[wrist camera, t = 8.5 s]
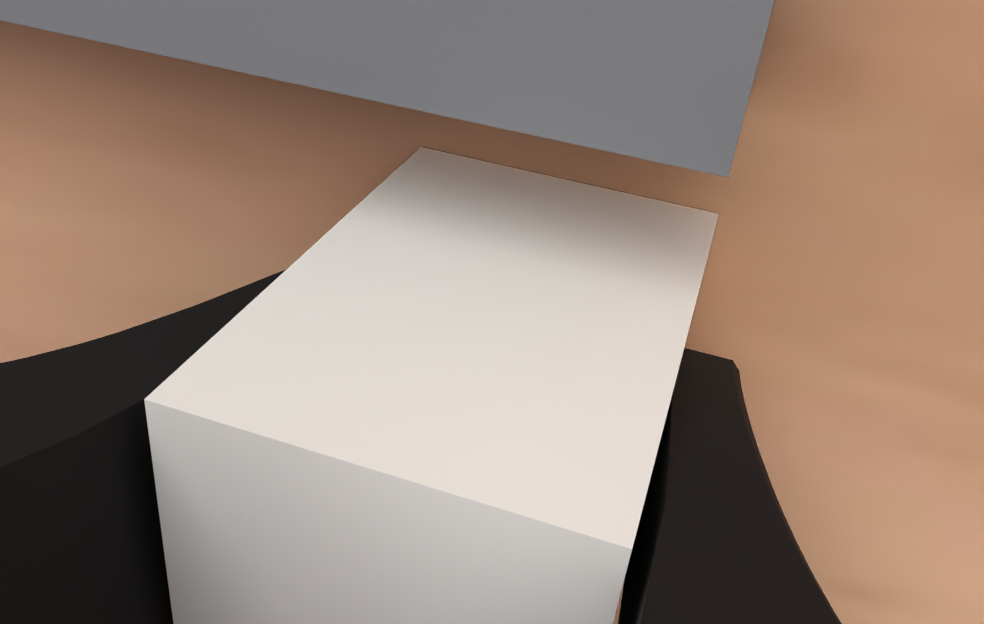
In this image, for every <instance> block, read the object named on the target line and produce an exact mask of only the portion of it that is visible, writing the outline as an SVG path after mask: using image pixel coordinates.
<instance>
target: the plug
mask: <svg viewBox="0 0 984 624" xmlns="http://www.w3.org/2000/svg"><path fill="white" fill-rule="evenodd" d="M718 216H719V214H717V213H713V212H709V211H704V210H700V209H695V208H691V207H686V206H682V205H677V204H673V203H669V202H664V201H660V200H655V199H651V198H646V197H642V196H637V195H633V194H628V193H624V192H620V191H615V190H611V189H606V188H602V187H597V186H593V185H588V184H584V183H579V182H575V181H571V180H566V179H562V178H557V177H553V176H548V175H544V174H539V173H535V172H530V171H526V170H522V169H517V168H513V167H508V166H504V165H499V164H495V163H490V162H486V161H481V160H477V159H473V158H468V157H464V156H459V155H455V154H450V153H446V152H441V151H437V150H432V149H428V148H424V147H420V148H419V149H418V150H417V151H416V152H415V153H414V154H413V155H412V156H410V157H409V158H408V159H407V160H406V161H405V162H404V163H403V164H402V165H401V166H399V167H398V168H397V169H396V170H395V171H394V172H393V173H392V174H391V175H390V176H388V177H387V178H386V179H385V180H384V181H383V182H382V183H381V184H380V185H379V186H378V187H376V188H375V189H374V190H373V191H372V192H371V193H370V194H369V195H368V196H367V197H365V198H364V199H363V200H362V201H361V202H360V203H359V204H358V205H357V206H356V207H355V208H353V209H352V210H351V211H350V212H349V213H348V214H347V215H346V216H345V217H344V218H342V219H341V220H340V221H339V222H338V223H337V224H336V225H335V226H334V227H333V228H331V229H330V230H329V231H328V232H327V233H326V234H325V235H324V236H323V237H322V238H321V239H319V240H318V241H317V242H316V243H315V244H314V245H313V246H312V247H311V248H310V249H308V250H307V251H306V252H305V253H304V254H303V255H302V256H301V257H300V258H299V259H297V260H296V261H295V262H294V263H293V264H292V265H291V266H290V267H289V268H288V269H287V270H285V271H284V272H283V273H282V274H281V275H280V276H279V277H278V278H277V279H276V280H274V281H273V282H272V283H271V284H270V285H269V286H268V287H267V288H266V289H265V290H263V291H262V292H261V293H260V294H259V295H258V296H257V297H256V298H255V299H254V300H253V301H251V302H250V303H249V304H248V305H247V306H246V307H245V308H244V309H243V310H242V311H240V312H239V313H238V314H237V315H236V316H235V317H234V318H233V319H232V320H231V321H230V322H228V323H227V324H226V325H225V326H224V327H223V328H222V329H221V330H220V331H219V332H217V333H216V334H215V335H214V336H213V337H212V338H211V339H210V340H209V341H208V342H206V343H205V344H204V345H203V346H202V347H201V348H200V349H199V350H198V351H197V352H196V353H194V354H193V355H192V356H191V357H190V358H189V359H188V360H187V361H186V362H185V363H183V364H182V365H181V366H180V367H179V368H178V369H177V370H176V371H175V372H174V373H172V374H171V375H170V376H169V377H168V378H167V379H166V380H165V381H164V382H163V383H162V384H160V385H159V386H158V387H157V388H156V389H155V390H154V391H153V392H152V393H151V394H149V395H148V396H147V397H146V398H145V399H144V402H145V410H146V417H147V425H148V433H149V440H150V448H151V456H152V463H153V471H154V479H155V486H156V494H157V502H158V509H159V517H160V525H161V532H162V540H163V548H164V555H165V563H166V571H167V578H168V586H169V594H170V601H171V609H172V617H173V624H613V621H614V617H615V613H616V609H617V605H618V601H619V598H620V594H621V590H622V586H623V582H624V578H625V575H626V571H627V567H628V563H629V559H630V556H631V552H632V548H633V544H634V540H635V536H636V532H637V529H638V525H639V521H640V517H641V513H642V509H643V505H644V502H645V498H646V494H647V490H648V486H649V482H650V478H651V474H652V471H653V467H654V463H655V459H656V455H657V451H658V447H659V444H660V440H661V436H662V432H663V428H664V424H665V420H666V417H667V413H668V409H669V405H670V401H671V397H672V393H673V389H674V386H675V382H676V378H677V374H678V370H679V366H680V362H681V359H682V355H683V351H684V347H685V343H686V339H687V335H688V332H689V328H690V324H691V320H692V316H693V312H694V308H695V305H696V301H697V297H698V293H699V289H700V285H701V281H702V277H703V274H704V270H705V266H706V262H707V258H708V254H709V250H710V247H711V243H712V239H713V235H714V231H715V227H716V223H717V220H718Z"/></svg>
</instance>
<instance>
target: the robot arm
mask: <svg viewBox="0 0 984 624" xmlns="http://www.w3.org/2000/svg"><path fill="white" fill-rule="evenodd" d="M284 271H285V270H284ZM284 271H281V272H279V273H276V274H274V275H271V276H269V277H266V278H264V279H261V280H259V281H256V282H254V283H251V284H249V285H246V286H244V287H241V288H239V289H236V290H234V291H231V292H228V293H226V294H223V295H221V296H218V297H216V298H213V299H211V300H208V301H206V302H203V303H200V304H198V305H195V306H193V307H190V308H187V309H184V310H181V311H178V312H176V313H173V314H170V315H167V316H164V317H161V318H158V319H155V320H153V321H150V322H147V323H144V324H141V325H138V326H135V327H132V328H130V329H127V330H124V331H121V332H118V333H115V334H111V335H108V336H105V337H102V338H98V339H95V340H92V341H88V342H85V343H81V344H78V345H74V346H70V347H66V348H62V349H58V350H55V351H51V352H47V353H43V354H39V355H35V356H31V357H27V358H23V359H18V360H14V361H9V362H4V363H0V624H173V617H172V609H171V601H170V594H169V586H168V578H167V571H166V563H165V555H164V548H163V540H162V532H161V525H160V517H159V509H158V502H157V494H156V486H155V479H154V471H153V463H152V456H151V448H150V440H149V433H148V425H147V417H146V410H145V402H144V399H145V398H146V397H147V396H148V395H149V394H151V393H152V392H153V391H154V390H155V389H156V388H157V387H158V386H159V385H160V384H162V383H163V382H164V381H165V380H166V379H167V378H168V377H169V376H170V375H171V374H172V373H174V372H175V371H176V370H177V369H178V368H179V367H180V366H181V365H182V364H183V363H185V362H186V361H187V360H188V359H189V358H190V357H191V356H192V355H193V354H194V353H196V352H197V351H198V350H199V349H200V348H201V347H202V346H203V345H204V344H205V343H206V342H208V341H209V340H210V339H211V338H212V337H213V336H214V335H215V334H216V333H217V332H219V331H220V330H221V329H222V328H223V327H224V326H225V325H226V324H227V323H228V322H230V321H231V320H232V319H233V318H234V317H235V316H236V315H237V314H238V313H239V312H240V311H242V310H243V309H244V308H245V307H246V306H247V305H248V304H249V303H250V302H251V301H253V300H254V299H255V298H256V297H257V296H258V295H259V294H260V293H261V292H262V291H263V290H265V289H266V288H267V287H268V286H269V285H270V284H271V283H272V282H273V281H274V280H276V279H277V278H278V277H279V276H280V275H281V274H282V273H283V272H284ZM618 624H842V623H841V622H840V620H839V619H838V617H837V615H836V614H835V612H834V611H833V609H832V607H831V605H830V604H829V602H828V600H827V598H826V596H825V595H824V593H823V591H822V589H821V588H820V586H819V584H818V582H817V581H816V579H815V577H814V575H813V573H812V571H811V570H810V568H809V566H808V564H807V562H806V560H805V558H804V556H803V554H802V552H801V550H800V548H799V546H798V544H797V542H796V540H795V538H794V535H793V533H792V531H791V529H790V527H789V524H788V522H787V520H786V518H785V516H784V514H783V511H782V509H781V507H780V504H779V502H778V500H777V497H776V495H775V492H774V490H773V487H772V485H771V482H770V479H769V477H768V474H767V471H766V469H765V466H764V463H763V460H762V458H761V455H760V452H759V450H758V447H757V443H756V440H755V437H754V434H753V431H752V427H751V424H750V420H749V417H748V413H747V410H746V406H745V402H744V397H743V393H742V388H741V382H740V374H739V370H738V368H737V367H736V365H735V363H734V362H733V360H729V359H725V358H721V357H718V356H714V355H710V354H706V353H702V352H698V351H694V350H690V349H686V348H684V351H683V355H682V359H681V362H680V366H679V370H678V374H677V378H676V382H675V386H674V389H673V393H672V397H671V401H670V405H669V409H668V413H667V417H666V420H665V424H664V428H663V432H662V436H661V440H660V444H659V447H658V451H657V455H656V459H655V463H654V467H653V471H652V474H651V478H650V482H649V486H648V490H647V494H646V498H645V502H644V505H643V509H642V513H641V517H640V521H639V525H638V529H637V532H636V536H635V540H634V544H633V548H632V552H631V556H630V559H629V563H628V567H627V571H626V575H625V580H624V587H623V594H622V600H621V607H620V614H619V621H618Z"/></svg>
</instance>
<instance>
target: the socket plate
mask: <svg viewBox="0 0 984 624" xmlns="http://www.w3.org/2000/svg"><path fill="white" fill-rule="evenodd" d="M773 4H774V0H0V20H1V21H6V22H10V23H15V24H19V25H24V26H29V27H33V28H38V29H43V30H47V31H52V32H57V33H61V34H66V35H70V36H75V37H80V38H84V39H89V40H94V41H98V42H103V43H108V44H112V45H117V46H121V47H126V48H131V49H135V50H140V51H145V52H149V53H154V54H158V55H163V56H168V57H172V58H177V59H182V60H186V61H191V62H196V63H200V64H205V65H209V66H214V67H219V68H223V69H228V70H233V71H237V72H242V73H247V74H251V75H256V76H260V77H265V78H270V79H274V80H279V81H284V82H288V83H293V84H298V85H302V86H307V87H311V88H316V89H321V90H325V91H330V92H335V93H339V94H344V95H348V96H353V97H358V98H362V99H367V100H372V101H376V102H381V103H386V104H390V105H395V106H399V107H404V108H409V109H413V110H418V111H423V112H427V113H432V114H437V115H441V116H446V117H450V118H455V119H460V120H464V121H469V122H474V123H478V124H483V125H488V126H492V127H497V128H501V129H506V130H511V131H515V132H520V133H525V134H529V135H534V136H538V137H543V138H548V139H552V140H557V141H562V142H566V143H571V144H576V145H580V146H585V147H589V148H594V149H599V150H603V151H608V152H613V153H617V154H622V155H627V156H631V157H636V158H640V159H645V160H650V161H654V162H659V163H664V164H668V165H673V166H678V167H682V168H687V169H691V170H696V171H701V172H705V173H710V174H715V175H719V176H724V177H729V173H730V169H731V165H732V162H733V158H734V154H735V150H736V146H737V142H738V139H739V135H740V131H741V127H742V123H743V119H744V116H745V112H746V108H747V104H748V100H749V96H750V93H751V89H752V85H753V81H754V77H755V73H756V69H757V66H758V62H759V58H760V54H761V50H762V46H763V43H764V39H765V35H766V31H767V27H768V23H769V20H770V16H771V12H772V8H773Z"/></svg>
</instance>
